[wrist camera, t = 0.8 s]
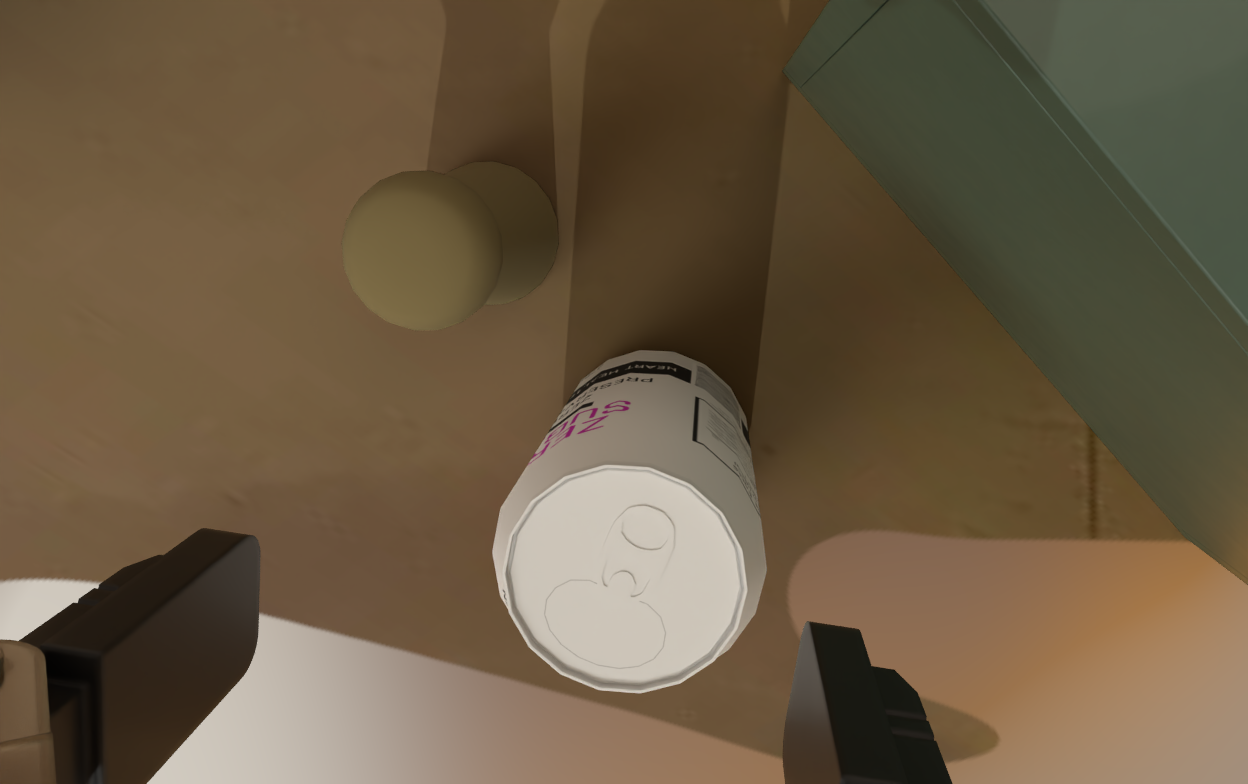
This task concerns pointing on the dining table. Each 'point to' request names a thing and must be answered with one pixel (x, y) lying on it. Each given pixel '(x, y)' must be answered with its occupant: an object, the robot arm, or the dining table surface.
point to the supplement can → (635, 527)
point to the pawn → (448, 243)
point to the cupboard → (1078, 206)
